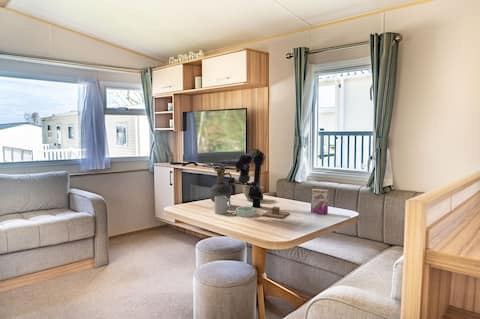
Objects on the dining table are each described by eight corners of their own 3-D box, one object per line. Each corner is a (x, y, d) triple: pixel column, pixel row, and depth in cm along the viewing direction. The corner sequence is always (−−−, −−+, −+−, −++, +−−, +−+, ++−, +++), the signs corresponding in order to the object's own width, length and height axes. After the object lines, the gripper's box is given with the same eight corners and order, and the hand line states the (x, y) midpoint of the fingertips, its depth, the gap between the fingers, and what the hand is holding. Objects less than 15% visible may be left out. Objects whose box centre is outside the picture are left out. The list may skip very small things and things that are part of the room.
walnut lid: (269, 211, 238) (269, 204, 238) (289, 214, 232) (289, 206, 231) (261, 216, 226) (261, 208, 225) (281, 218, 219) (282, 211, 219)
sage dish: (241, 212, 238) (241, 205, 238) (258, 214, 233) (258, 207, 232) (232, 216, 227) (232, 209, 226) (250, 218, 221) (250, 211, 221)
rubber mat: (268, 211, 239) (268, 211, 239) (290, 214, 232) (290, 213, 232) (259, 216, 225) (259, 216, 225) (282, 220, 218) (282, 219, 218)
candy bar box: (310, 213, 236) (311, 189, 235) (311, 211, 241) (312, 188, 239) (327, 214, 232) (328, 190, 231) (328, 213, 237) (328, 189, 236)
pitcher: (207, 206, 254) (207, 165, 252) (226, 202, 268) (226, 164, 265) (217, 208, 247) (217, 167, 244) (236, 204, 260) (236, 165, 258)
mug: (218, 214, 230) (218, 198, 229) (212, 212, 236) (212, 196, 235) (233, 212, 237) (233, 196, 236) (226, 210, 243) (226, 194, 242)
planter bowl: (240, 198, 284) (240, 185, 283) (259, 197, 287) (259, 185, 287) (245, 202, 268) (245, 188, 267) (265, 201, 272) (265, 188, 271)
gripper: (229, 169, 221) (225, 193, 217) (258, 172, 219) (254, 196, 215) (231, 172, 232) (227, 195, 228) (258, 175, 229) (255, 199, 226)
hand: (241, 196), depth 224 cm, fingers open, 9 cm apart
